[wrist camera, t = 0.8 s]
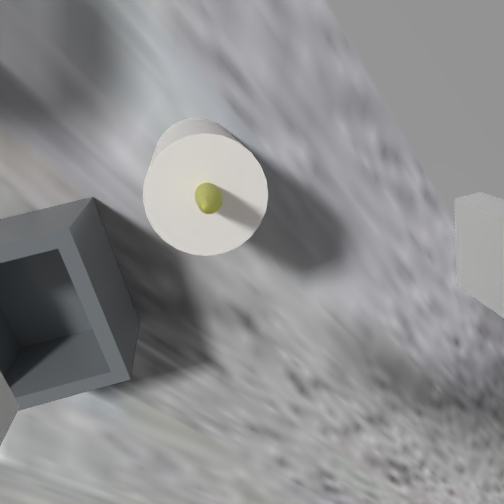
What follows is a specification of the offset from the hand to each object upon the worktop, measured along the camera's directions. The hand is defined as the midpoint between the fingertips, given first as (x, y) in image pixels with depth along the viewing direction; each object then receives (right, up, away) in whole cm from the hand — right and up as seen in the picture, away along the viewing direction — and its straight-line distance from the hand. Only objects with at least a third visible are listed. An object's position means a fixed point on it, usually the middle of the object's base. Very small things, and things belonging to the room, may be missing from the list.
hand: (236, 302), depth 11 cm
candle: (-4, +8, +19) cm, 21 cm away
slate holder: (-15, -1, +21) cm, 26 cm away
